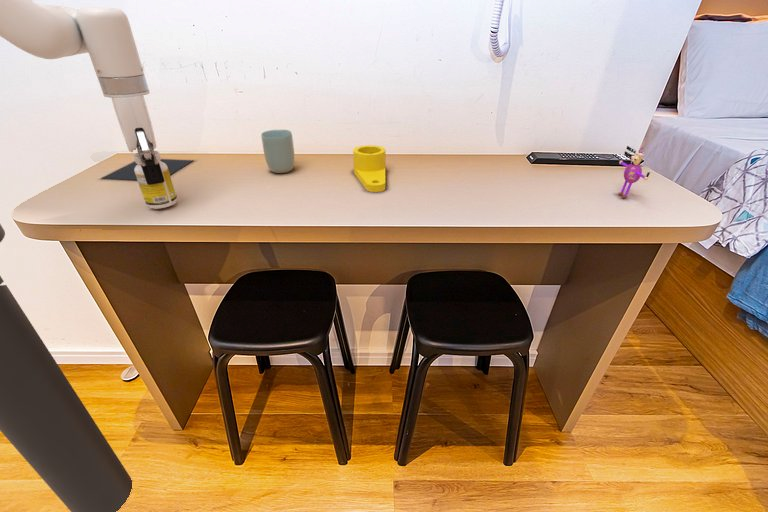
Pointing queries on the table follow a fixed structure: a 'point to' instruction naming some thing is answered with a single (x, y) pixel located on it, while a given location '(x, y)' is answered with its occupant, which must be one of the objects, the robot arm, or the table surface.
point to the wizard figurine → (632, 170)
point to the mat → (128, 170)
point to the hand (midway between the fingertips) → (154, 177)
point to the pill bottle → (156, 186)
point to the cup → (278, 150)
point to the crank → (370, 167)
